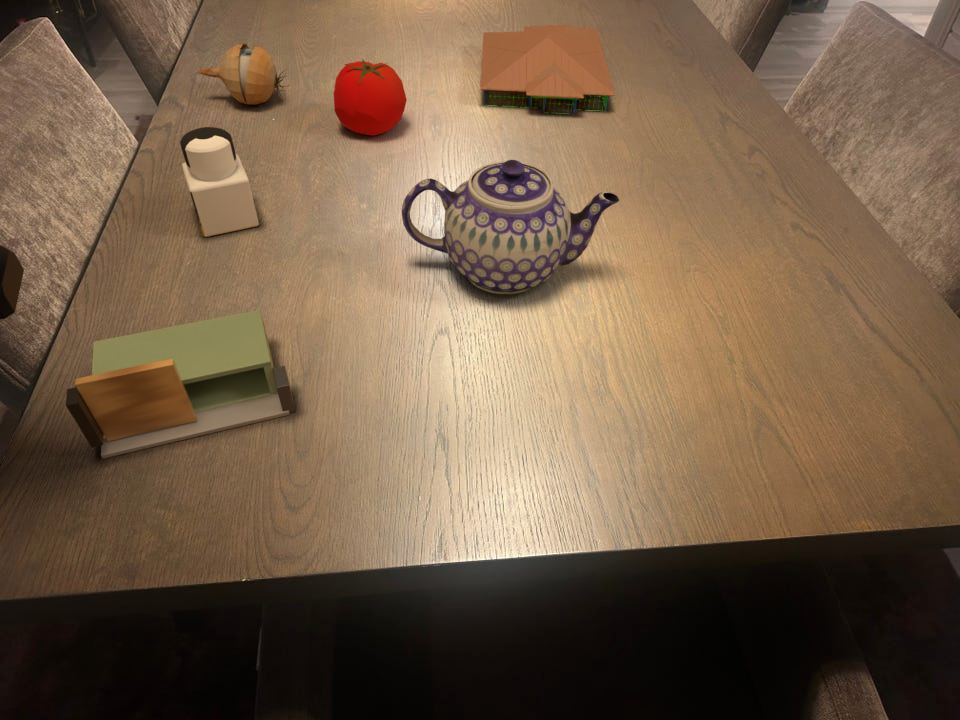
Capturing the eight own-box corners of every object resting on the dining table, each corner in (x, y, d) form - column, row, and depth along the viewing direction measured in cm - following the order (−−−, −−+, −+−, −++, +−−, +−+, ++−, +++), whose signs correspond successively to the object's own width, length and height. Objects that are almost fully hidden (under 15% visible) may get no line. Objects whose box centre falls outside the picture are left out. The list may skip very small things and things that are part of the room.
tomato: (322, 122, 110) (313, 58, 103) (381, 105, 116) (377, 43, 108) (360, 152, 104) (354, 86, 97) (421, 132, 109) (420, 69, 102)
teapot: (395, 301, 80) (387, 190, 69) (413, 227, 91) (409, 121, 80) (607, 317, 79) (632, 208, 68) (600, 241, 90) (621, 136, 79)
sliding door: (95, 454, 62) (60, 397, 56) (96, 438, 63) (62, 380, 58) (197, 430, 65) (174, 373, 59) (196, 415, 66) (173, 358, 60)
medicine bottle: (195, 210, 91) (169, 126, 83) (248, 199, 94) (229, 117, 85) (204, 238, 87) (177, 153, 78) (259, 226, 89) (240, 142, 81)
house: (479, 114, 114) (481, 66, 109) (483, 41, 138) (484, -2, 132) (613, 121, 115) (622, 73, 109) (594, 46, 138) (601, 3, 132)
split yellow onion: (288, 64, 106) (190, 35, 103) (281, 122, 112) (187, 96, 109) (299, 51, 114) (208, 24, 111) (292, 105, 119) (205, 81, 116)
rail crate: (102, 458, 63) (81, 424, 59) (105, 378, 70) (86, 342, 66) (296, 413, 67) (287, 378, 64) (280, 341, 74) (271, 307, 71)
